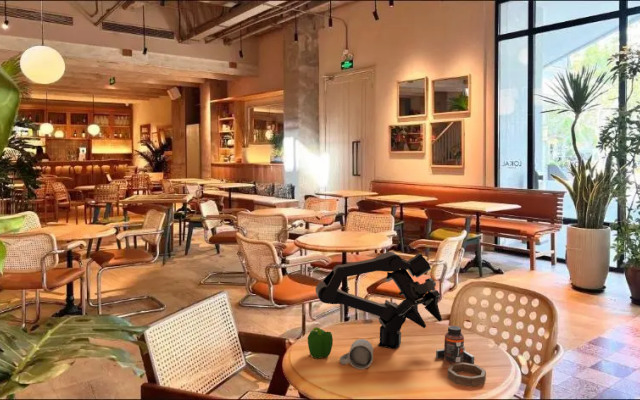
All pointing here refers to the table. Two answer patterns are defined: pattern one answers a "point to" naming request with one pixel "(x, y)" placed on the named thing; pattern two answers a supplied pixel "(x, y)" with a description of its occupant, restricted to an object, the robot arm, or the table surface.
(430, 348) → the table surface
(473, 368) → the walnut collar
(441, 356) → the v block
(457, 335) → the supplement bottle
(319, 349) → the bell pepper
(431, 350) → the table surface
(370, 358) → the ceramic mug
